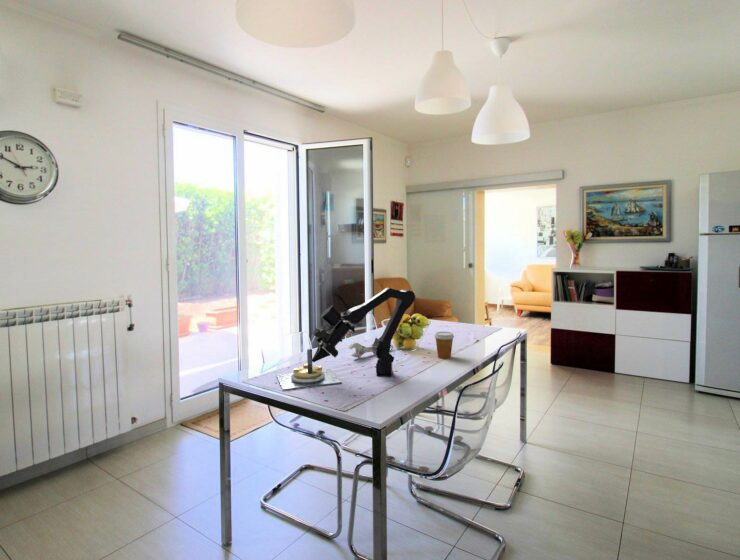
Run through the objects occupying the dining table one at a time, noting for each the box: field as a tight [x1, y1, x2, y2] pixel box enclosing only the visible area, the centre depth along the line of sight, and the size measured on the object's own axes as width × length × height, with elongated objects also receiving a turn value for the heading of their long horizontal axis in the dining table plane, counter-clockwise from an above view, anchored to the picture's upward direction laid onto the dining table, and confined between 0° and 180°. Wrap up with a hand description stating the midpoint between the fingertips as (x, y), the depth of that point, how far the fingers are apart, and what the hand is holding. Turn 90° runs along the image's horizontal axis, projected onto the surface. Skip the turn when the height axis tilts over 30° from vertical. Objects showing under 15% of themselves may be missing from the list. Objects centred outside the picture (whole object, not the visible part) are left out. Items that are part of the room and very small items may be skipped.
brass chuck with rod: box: [292, 348, 323, 379], centre depth 181 cm, size 12×12×12 cm
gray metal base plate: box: [276, 368, 343, 391], centre depth 182 cm, size 24×20×2 cm
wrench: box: [348, 342, 394, 359], centre depth 221 cm, size 8×2×30 cm
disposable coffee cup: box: [434, 331, 455, 359], centre depth 214 cm, size 10×10×12 cm
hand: (312, 361), depth 178 cm, fingers closed
